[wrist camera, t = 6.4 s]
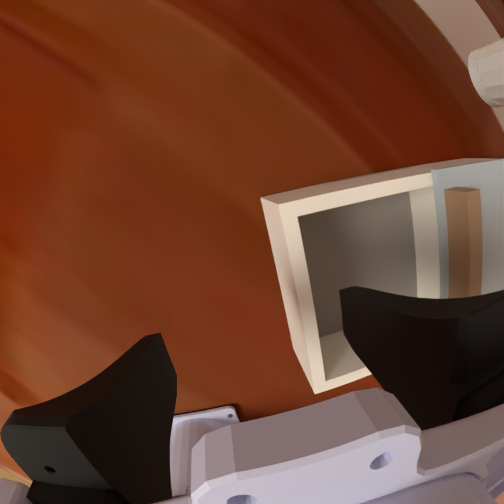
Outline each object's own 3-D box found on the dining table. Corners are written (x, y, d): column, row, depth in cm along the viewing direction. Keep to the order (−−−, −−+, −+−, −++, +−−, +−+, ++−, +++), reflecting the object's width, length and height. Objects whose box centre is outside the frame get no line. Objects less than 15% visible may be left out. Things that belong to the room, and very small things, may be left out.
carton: (471, 281, 25) (512, 302, 19) (293, 348, 24) (314, 394, 18) (464, 158, 22) (512, 159, 16) (260, 197, 21) (278, 204, 15)
